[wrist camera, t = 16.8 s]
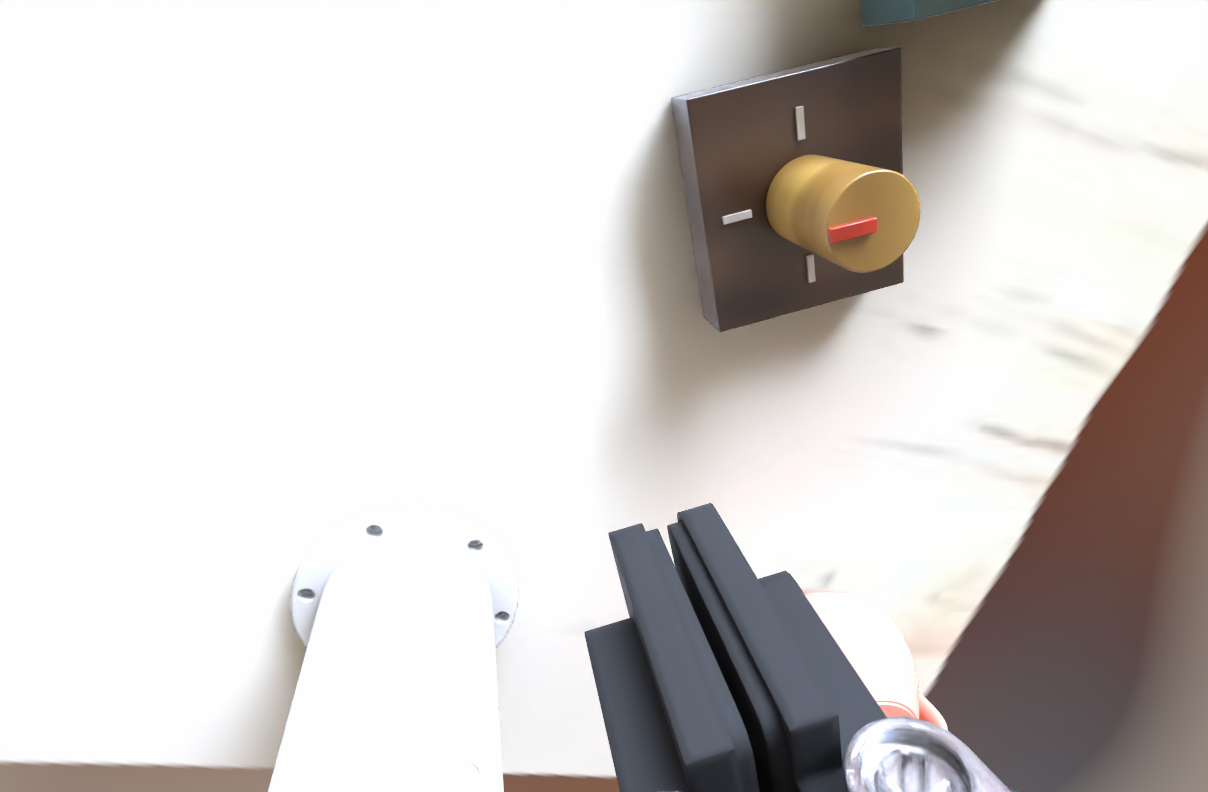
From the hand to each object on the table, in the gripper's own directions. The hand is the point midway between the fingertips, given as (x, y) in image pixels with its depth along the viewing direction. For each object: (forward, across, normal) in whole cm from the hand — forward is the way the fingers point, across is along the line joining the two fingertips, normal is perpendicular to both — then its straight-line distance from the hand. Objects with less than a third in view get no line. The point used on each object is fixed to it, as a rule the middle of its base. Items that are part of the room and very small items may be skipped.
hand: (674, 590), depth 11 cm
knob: (+23, -13, 0) cm, 26 cm away
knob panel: (+25, -13, 0) cm, 28 cm away
